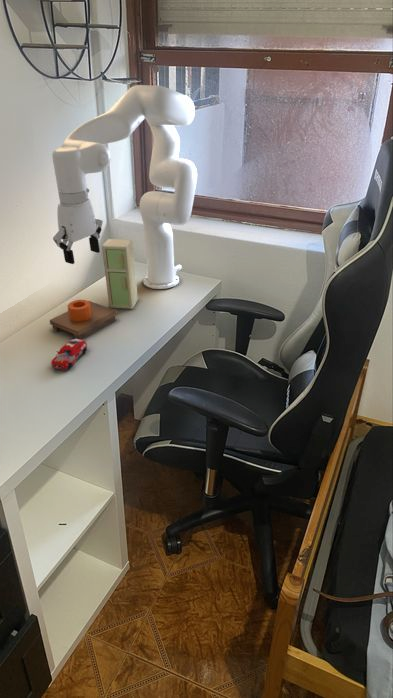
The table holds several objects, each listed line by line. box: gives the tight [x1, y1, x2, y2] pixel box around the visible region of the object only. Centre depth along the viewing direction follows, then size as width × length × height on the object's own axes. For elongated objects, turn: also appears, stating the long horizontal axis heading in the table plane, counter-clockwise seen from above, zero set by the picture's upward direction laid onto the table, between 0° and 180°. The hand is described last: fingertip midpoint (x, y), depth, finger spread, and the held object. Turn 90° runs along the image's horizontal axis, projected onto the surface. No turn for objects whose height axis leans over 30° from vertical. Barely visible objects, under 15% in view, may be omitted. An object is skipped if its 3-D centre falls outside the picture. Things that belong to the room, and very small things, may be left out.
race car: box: [50, 338, 88, 371], centre depth 142 cm, size 13×5×4 cm, turn 161°
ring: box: [67, 299, 92, 322], centre depth 156 cm, size 6×6×4 cm
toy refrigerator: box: [101, 238, 139, 310], centre depth 166 cm, size 8×7×21 cm
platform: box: [49, 300, 118, 340], centre depth 159 cm, size 16×12×4 cm
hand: (82, 257), depth 149 cm, fingers open, 9 cm apart
